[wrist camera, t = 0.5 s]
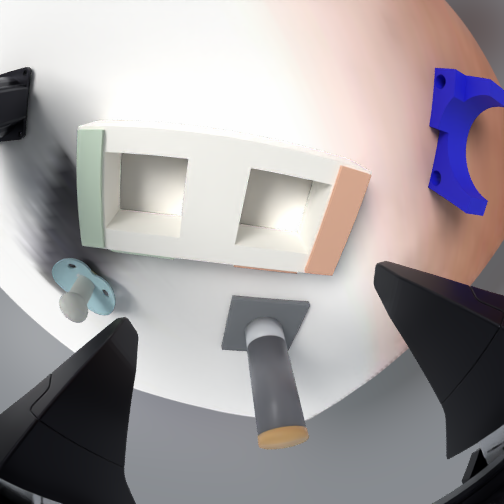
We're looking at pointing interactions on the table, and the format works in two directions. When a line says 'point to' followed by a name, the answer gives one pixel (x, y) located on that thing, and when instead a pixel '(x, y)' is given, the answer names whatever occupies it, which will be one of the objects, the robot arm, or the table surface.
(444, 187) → the cable clip
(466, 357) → the robot arm
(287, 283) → the table surface
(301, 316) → the mat
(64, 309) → the pacifier
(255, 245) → the socket panel
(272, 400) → the plug
